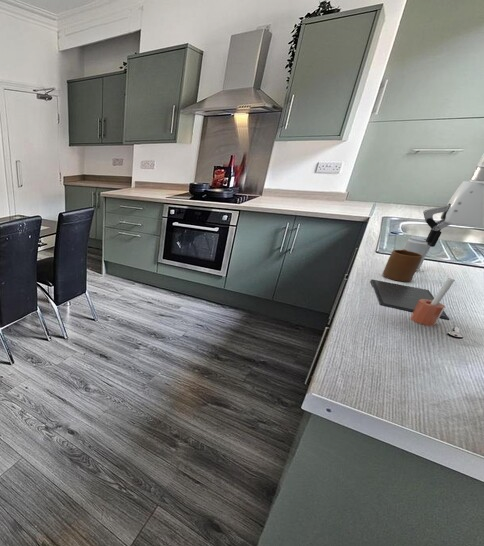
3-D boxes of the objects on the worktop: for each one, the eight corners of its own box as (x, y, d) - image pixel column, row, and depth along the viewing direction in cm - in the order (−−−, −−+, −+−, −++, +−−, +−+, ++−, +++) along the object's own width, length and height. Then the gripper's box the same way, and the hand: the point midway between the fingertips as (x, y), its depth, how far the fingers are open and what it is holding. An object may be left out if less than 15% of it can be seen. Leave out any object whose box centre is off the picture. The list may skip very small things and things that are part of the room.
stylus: (425, 320, 83) (454, 279, 77) (426, 323, 83) (455, 281, 76) (418, 319, 84) (447, 277, 78) (419, 321, 83) (448, 279, 77)
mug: (380, 268, 119) (390, 245, 115) (407, 273, 114) (419, 249, 111) (382, 278, 110) (393, 253, 107) (412, 284, 106) (425, 258, 102)
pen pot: (431, 321, 84) (442, 302, 82) (436, 329, 81) (447, 309, 78) (408, 316, 86) (417, 297, 84) (411, 323, 83) (421, 304, 81)
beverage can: (422, 272, 116) (438, 241, 111) (400, 270, 118) (414, 239, 113) (412, 266, 121) (427, 237, 116) (392, 264, 123) (405, 235, 118)
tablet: (427, 292, 100) (428, 289, 100) (448, 321, 84) (450, 318, 84) (370, 281, 108) (371, 278, 107) (379, 306, 92) (380, 303, 91)
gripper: (552, 178, 67) (506, 253, 74) (437, 172, 76) (406, 239, 83) (573, 181, 61) (521, 262, 68) (446, 175, 71) (412, 246, 78)
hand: (458, 249), depth 76 cm, fingers open, 9 cm apart
